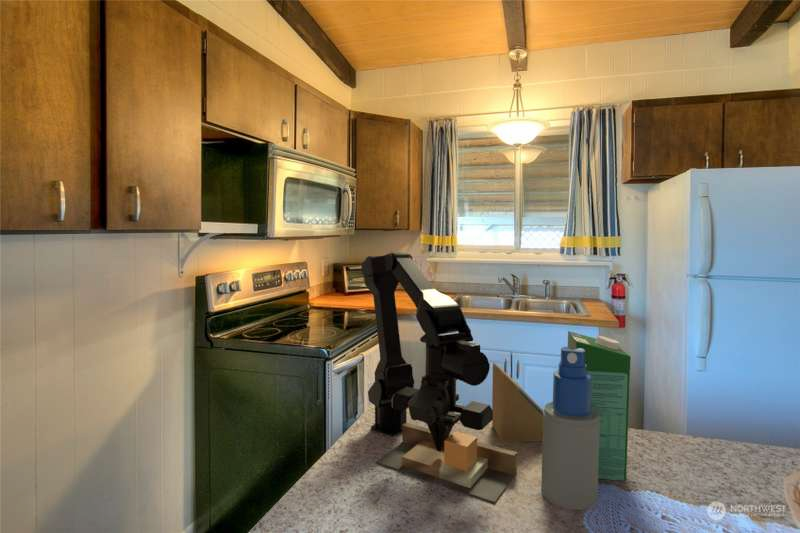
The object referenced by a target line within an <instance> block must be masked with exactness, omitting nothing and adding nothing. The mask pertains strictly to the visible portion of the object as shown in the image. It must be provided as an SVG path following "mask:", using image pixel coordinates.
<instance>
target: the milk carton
mask: <svg viewBox="0 0 800 533" xmlns="http://www.w3.org/2000/svg"><path fill="white" fill-rule="evenodd" d="M567 347H568V348H569V349H576V348H582V349H584V350H585V364H586V365H587V373H588V374H590V375H591V377H592V382H591V408H593V409H595V410H596V411H597V412H598V415H599V419H600V434H599V466H598V479H601V480H602V479H603V480H612V481H621V482H622V481H623V482H627V469H628V468H627V466H628V442H629V441H628V440H629V438H628V437H629V416H630V415H629V414H630V413H629V411H630V389H631V388H630V386H631V385H630V384H631V361H632V360H631V355H629V354H628V353H627V352H626V350H624V349H622V348H621V347H620V341H618V340H616V339H613V338H611V337H606V336H603V335H597V336H596V338H595V337H593V336H588V335H585V334H581V333H577V332H573V331H571V330H568V332H567Z"/></svg>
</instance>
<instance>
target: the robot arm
mask: <svg viewBox="0 0 800 533" xmlns="http://www.w3.org/2000/svg"><path fill="white" fill-rule="evenodd" d="M360 270H361V274H362V276H363V280H364V285H365V287H366V288H367V289H368V290H369V291H370V293H371V295H372V296H373V304H374V312H375V313H374V314H375V315H374V316H375V321H376V322H375V323H376V332H377V341H378V349H379V361H378V364H377V366H376V368H375V370H374V382H373V384H372V385H371V386H370V388H369V389H368V391H367V398H368V401H369V403H370V404H372V405H374V424H373V425H371V426H370V430H373V431H377V432H379V433H383V434H386V435H390V436H396V435H398V434H399V433H400V432H402V425H403V424H405V423H408V421H407V418H408V417H407V414H408V413H407V411H409V416H410V419H411V420H413V421H417V422H418V421H419V422H423V423H425V424H426V425H427V428H428V429H429V430H430V432H431V434H432V438H433V441H434V443H435V446H436V449H437V451H439V452H441V451H442V450H443V449H444V440H446V439H447V438H448V437H449V434H450V435H451V432H452V430H453V428H454V426H455V424H457V423H458V422H460V423H461V425H462V427H464V428H468V429H472V430H476V431H482V430H483V429H484V428H486V427H487V426H488V425H489V424H490V423H492V420H493V410H492V406H491V405H490V404H486V403H482V402H477V401H472V400H471V401H470V402H469V403H468V404H467V405H463V404H459V403H457V402H458V401H459V400H460V399H459V398H460V394H458V393H457V381H460V382H463V383H465V384H467V385H470V386H471V387H473V386H475V387H476V386H479V385H481V384H482V383H483V382H484V381H485V380H486V379H487V377H488V375H489V372H490V368H491V367H490V362H489V359H488V357H487V355H486V354H485V353H484V352H482V351H481V345H480V344H479V343H477V342H473V341H474V337H473V335H472V330H471V328H470V326H469V325H468V323H467V321H466V317H465V315H464V313H463V311H462V308H461V307H460V305H459V304H458V303H457V302H456V301H455V300H454V299H452V298H451V297H450V296H449V295H446V294H444V293H441V292H439V291H438V290H436V288H435V286H433V285H432V283H431V282H430V281H429V279H428V278H427V277H426V275H425V274H424V273H423V272H422V270H421V269H420V268H419V266H418V265H416V263H415V261H414V260H413V256H412V254H410V253H408V252H405V251H404V252H403V251H399V252H397V251H396V252H389V253H386V254H384V255H374V256H373V255H371V256H366V258H365V260H363V261H362V263H361V269H360ZM399 284H400V285H401V287H402V288H403V289H404V291H405V293H406V294H407V295H408V297H409V299H410V300H411V301H412V302H413V304H414V306H415V308H416V313H415V318H416V321H418V323H419V326H420V327H421V330H422V331H423V333H424V335H422V336H421V337H420V338H419V341H420V342H421V343H424V344H425V374H424V375H423V376H421V381H420V384H421V385H420V387H419V388H417V387H415V379H414V376H413V375H414V374H413V366H412V364H411V363H407V361H406V360H405V358H404V357H403V354H402V347H401V346H402V345H401V338H400V329H399V318H398V311H397V303H396V302H397V301H396V295H395V292H396V290H397V288H398V285H399ZM472 342H473V343H472ZM407 409H408V410H407Z"/></svg>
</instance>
